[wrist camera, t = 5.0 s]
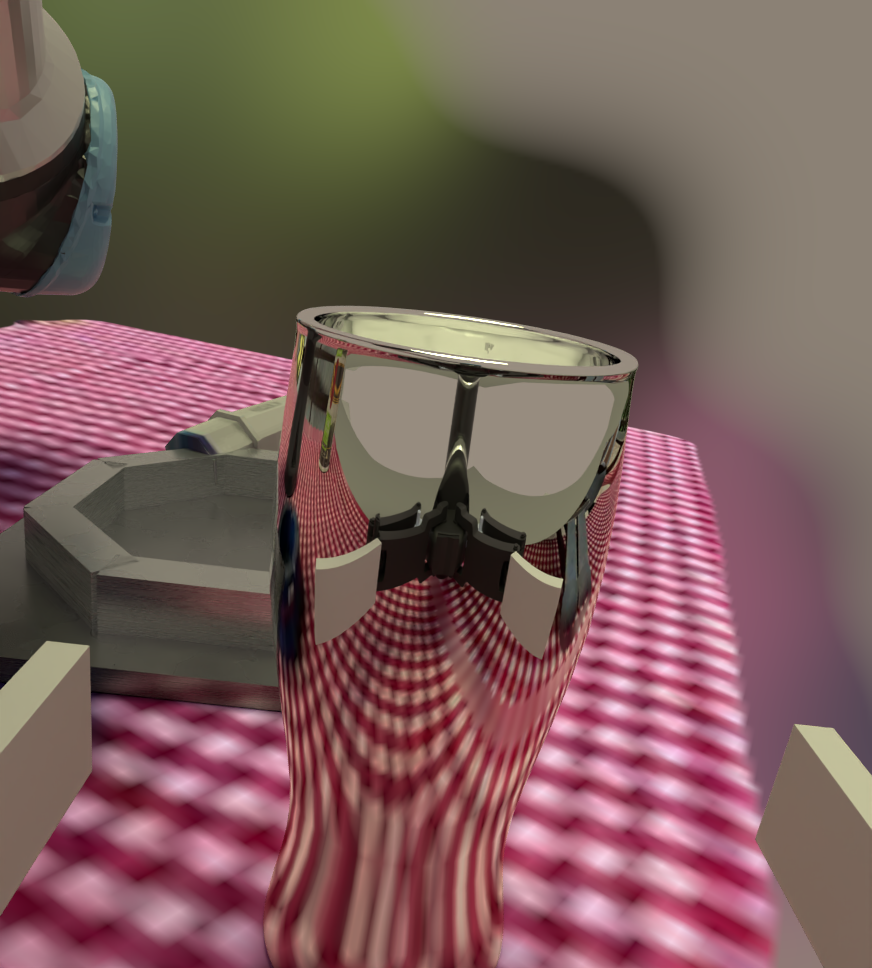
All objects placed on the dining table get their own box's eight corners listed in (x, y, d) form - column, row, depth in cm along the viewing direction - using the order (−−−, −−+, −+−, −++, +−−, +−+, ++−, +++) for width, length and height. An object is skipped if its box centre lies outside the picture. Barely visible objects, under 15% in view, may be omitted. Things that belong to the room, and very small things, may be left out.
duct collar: (-149, 665, 26) (-161, 577, 25) (110, 472, 47) (109, 419, 46) (479, 732, 27) (494, 650, 26) (458, 514, 48) (465, 463, 47)
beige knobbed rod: (152, 420, 43) (382, 337, 63) (165, 523, 46) (381, 412, 66) (222, 439, 41) (437, 347, 61) (230, 546, 44) (433, 423, 64)
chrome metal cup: (490, 1112, 15) (653, 393, 10) (186, 995, 17) (209, 315, 12) (535, 859, 22) (649, 343, 17) (314, 790, 23) (361, 297, 18)
